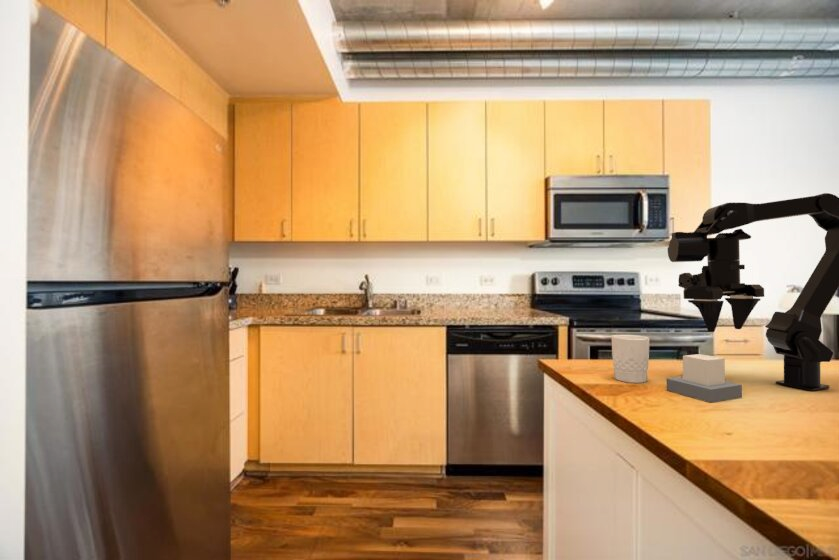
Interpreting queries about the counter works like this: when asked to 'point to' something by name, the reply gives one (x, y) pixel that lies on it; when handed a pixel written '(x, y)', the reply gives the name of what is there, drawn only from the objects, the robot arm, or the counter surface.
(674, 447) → the counter surface
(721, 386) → the base
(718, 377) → the cube
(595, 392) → the counter surface
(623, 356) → the white cup
